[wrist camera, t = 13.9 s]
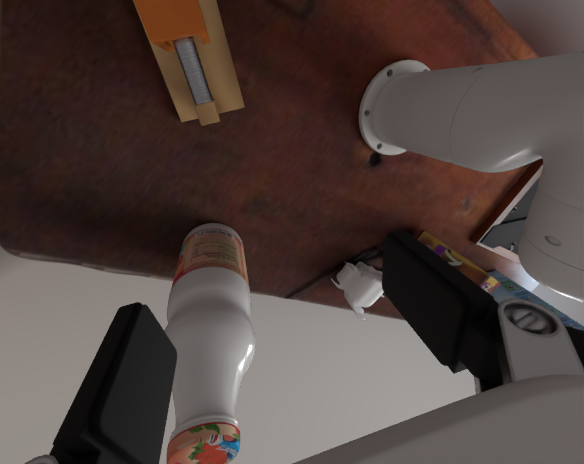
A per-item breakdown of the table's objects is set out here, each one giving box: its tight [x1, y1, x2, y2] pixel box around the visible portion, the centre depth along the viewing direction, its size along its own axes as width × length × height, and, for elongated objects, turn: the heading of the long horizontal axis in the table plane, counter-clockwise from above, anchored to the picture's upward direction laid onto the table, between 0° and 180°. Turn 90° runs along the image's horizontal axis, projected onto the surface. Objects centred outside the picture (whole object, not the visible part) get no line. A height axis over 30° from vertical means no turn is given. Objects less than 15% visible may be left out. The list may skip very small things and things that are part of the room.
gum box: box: [487, 271, 584, 330], centre depth 58 cm, size 20×5×23 cm, turn 4°
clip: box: [134, 0, 211, 52], centre depth 19 cm, size 4×4×6 cm
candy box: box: [417, 231, 501, 294], centre depth 46 cm, size 9×4×15 cm, turn 146°
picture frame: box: [470, 158, 543, 264], centre depth 57 cm, size 20×2×25 cm
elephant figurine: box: [331, 262, 384, 321], centre depth 48 cm, size 10×12×9 cm
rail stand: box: [133, 0, 244, 126], centre depth 22 cm, size 8×16×12 cm, turn 11°
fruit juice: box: [164, 223, 255, 464], centre depth 29 cm, size 9×9×28 cm
